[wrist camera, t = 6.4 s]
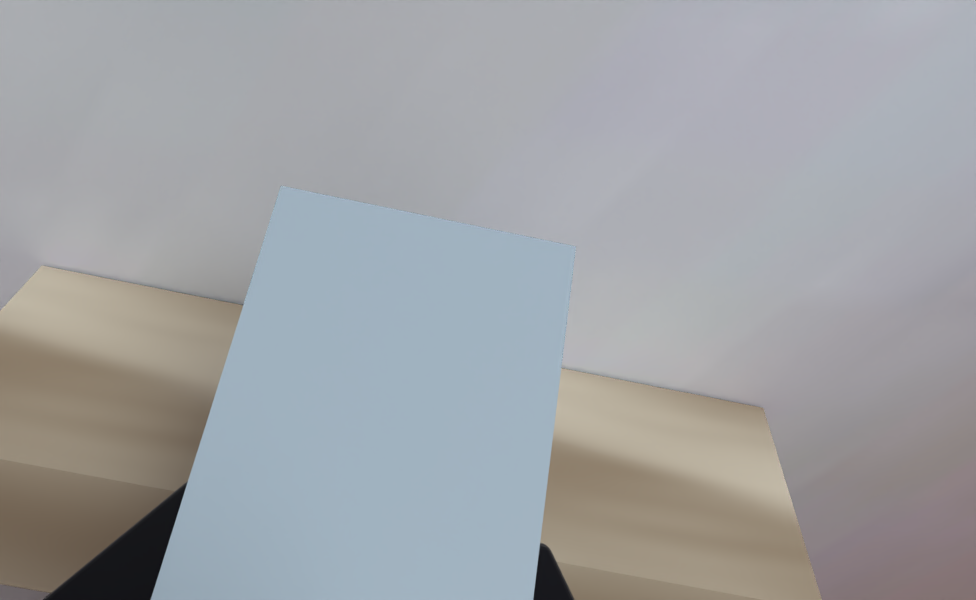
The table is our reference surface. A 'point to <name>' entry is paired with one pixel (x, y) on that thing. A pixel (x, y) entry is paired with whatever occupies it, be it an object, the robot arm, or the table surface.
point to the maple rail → (188, 400)
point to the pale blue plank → (378, 414)
